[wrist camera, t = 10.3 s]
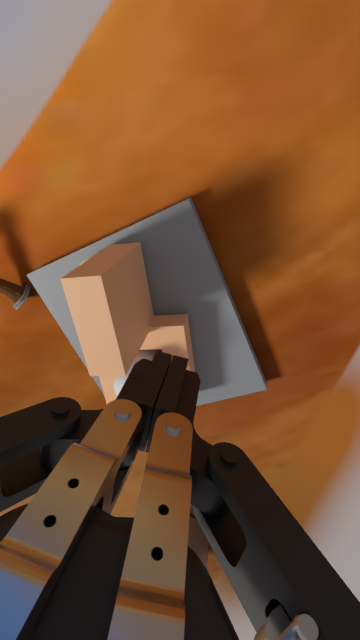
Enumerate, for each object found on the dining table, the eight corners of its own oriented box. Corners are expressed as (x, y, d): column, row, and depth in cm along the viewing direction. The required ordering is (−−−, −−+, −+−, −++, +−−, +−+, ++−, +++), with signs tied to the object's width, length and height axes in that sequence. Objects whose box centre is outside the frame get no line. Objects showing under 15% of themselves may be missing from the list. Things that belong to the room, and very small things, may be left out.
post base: (266, 381, 29) (271, 431, 24) (126, 414, 34) (104, 462, 29) (191, 196, 23) (175, 209, 18) (34, 270, 28) (-14, 296, 23)
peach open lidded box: (198, 393, 29) (185, 463, 22) (115, 392, 31) (80, 457, 24) (177, 238, 23) (151, 271, 16) (76, 248, 25) (15, 282, 18)
